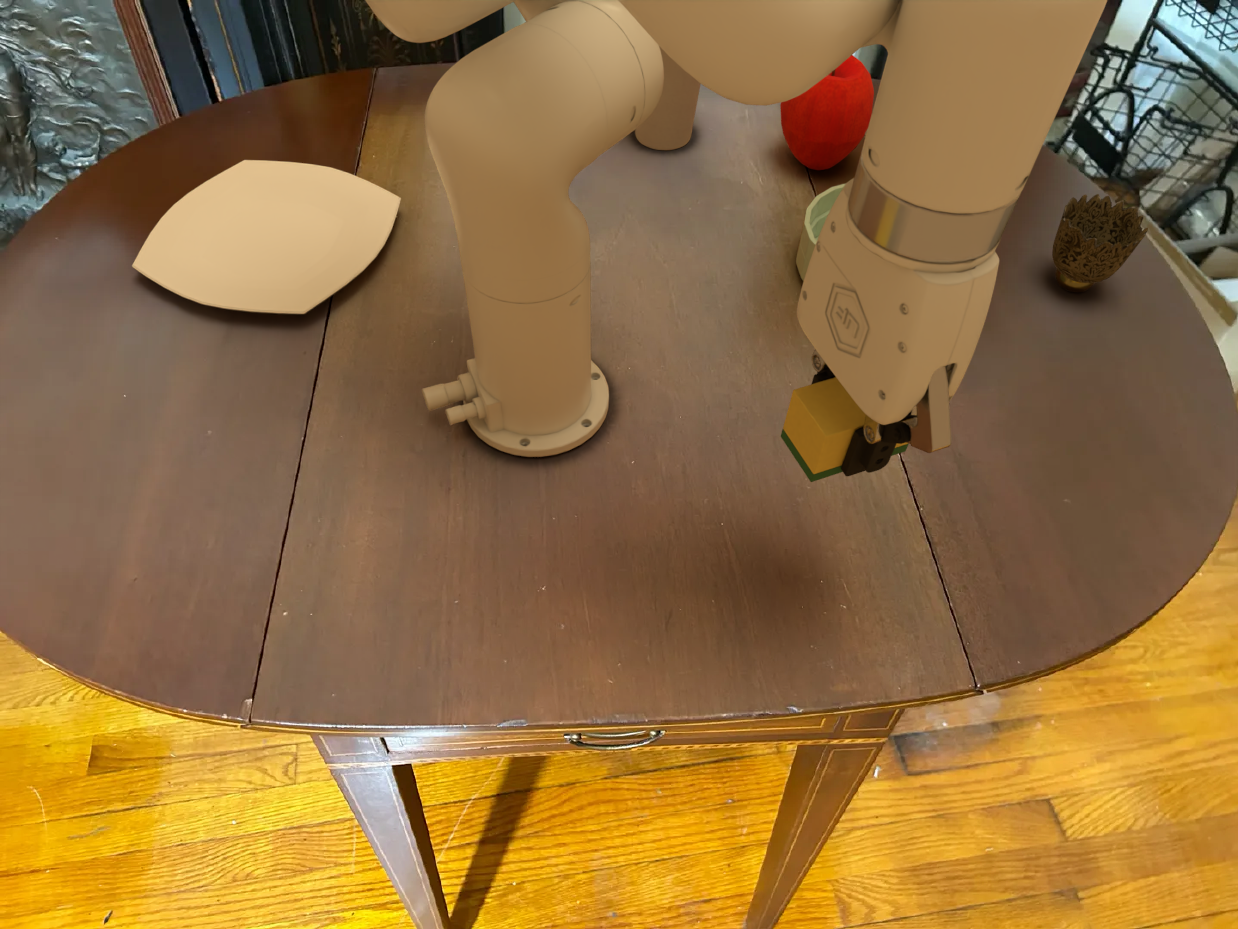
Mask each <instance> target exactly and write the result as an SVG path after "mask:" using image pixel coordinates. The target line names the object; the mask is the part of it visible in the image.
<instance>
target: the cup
mask: <svg viewBox="0 0 1238 929" xmlns="http://www.w3.org/2000/svg"><path fill="white" fill-rule="evenodd" d="M1124 203H1125V201H1124V199H1121V200H1119V201H1117V202H1116V203H1115V204H1114V205H1113V201H1112V200H1111V197H1110V195H1105V196H1104V197H1103V198H1101V196H1100V194H1099V193H1097V194H1094V195H1093V196H1092V197H1090V198H1089V199H1088V194H1083V195H1081V197H1080V198H1079V200H1077V199H1076V197H1074V196H1073V197H1071V199H1070V200H1069V201H1068V202H1067V203H1066V204H1065V205H1064V209H1063V213H1062V216H1061V219H1060V221H1059V224H1058V228H1057V231H1056V233H1055V238H1054V240H1053V244H1052V251H1051V254H1052V255H1051V257H1052V262H1053V265H1054V266H1055V268H1056V270H1055V273H1054V274H1055V282H1056V283H1057V284H1058V286H1059V287H1060V288H1062V289H1063V290H1066V291H1069V292H1070V293H1071V292H1072V293H1084V292H1086V291H1088V290H1090V289H1091V288H1092V287H1093V286H1094V285H1095V283H1099V282H1103V281H1105V280H1107V279H1109V278H1110V277H1112V276H1113V275H1115V274H1116V273H1117V272H1118V271H1119V270H1120V268H1121V267H1122V266H1123V265H1124V264H1125V263H1126V261H1127V260H1128V259H1129V258H1130V256H1132V254H1133V252H1134V251H1135V250H1136V248H1137V247H1138V246H1139V244H1140V243H1141V242H1142V240H1143V239H1144V238H1145V237H1146V234H1147V233H1148V231H1149V227H1144V228H1143V227H1142V226H1141V225H1142V222H1143V220H1144V215H1139V208H1138V207H1137V206H1130V207H1129V206H1128V207H1124V205H1125V204H1124Z"/></svg>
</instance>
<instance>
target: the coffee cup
mask: <svg viewBox="0 0 1238 929" xmlns="http://www.w3.org/2000/svg"><path fill="white" fill-rule="evenodd" d="M659 48H660V51H661V55H662V61H663V68H664V83H663V89H662V94H661V97H660V100H659V102H658V104H657V106H656V108H655V109H654V111H653V112H652V114H651V115H650V116H649V117H648V119H647V120H646V121H645V122H644V123H642V124H641V125H640V126H639V127H638V128H637V129H635V130H634V134H635V139H636V140H637V141H638V142H639V143H640V144H641V145H643V146H645V147H647V148H649V149H653V150H657V151H672V150H678V149H680V148H682V147H684V146H686V145H687V144H688V143H689V142H690V141H691V138H692V132H693V127H694V122H695V116H696V111H697V106H698V100H699V95H700V88H701V85H702V84H701V83H699V82H698V81H697V80H696V79H694V78H693V77H692V76H691V75H690V74H689V73H687V72H686V71H684V70H683V69H682V68H681V67H680V66H679V65H678V64H677V63H676V62H675V61H674V60H673V59H672V58H671V57H670V56H668V54H667V53H666V52H665V51H664V50H663V49H662V48H661V47H660V46H659Z"/></svg>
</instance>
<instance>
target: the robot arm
mask: <svg viewBox="0 0 1238 929" xmlns="http://www.w3.org/2000/svg"><path fill="white" fill-rule="evenodd" d="M364 1H365V2H366V4H367V5H368V7H369V8H370V10H371V11H372V12H373V13H374V15H375V16H376V17H377V19H378V20H379V21H380V22H381V23H382V25H383V26H384V27H385V28H386V29H387V30H389V31H390V32H391V33H392V34H393V35H394V36H396V37H398V38H400V39H401V40H402V41H406V42H409V43H416V44H423V43H429V42H435V41H438V40H441V39H443V38H447V37H448V36H450V35H451V36H452V35H453V34H456V33H457V32H459V31H461V30H463V29H465V28H468V27H469V26H471V25H473V24H475V23H477V22H478V21H481V20H482V19H484V18H486V17H488V16H490V15H492V14H493V13H496V12H498V11H499V10H501V9H503V8H505V7H507V6H508V5H511V4H512V3H514V6H516V8H517V10H518V11H519V13H520V14H521V16H522V18H523V19H524V21H525V22H523V23H520V24H518V25H517V26H514V27H512V28H511V29H509V30H507V31H505V32H504V33H502V34H500V35H498V36H497V37H495V38H493V39H492V40H490V41H487V42H486V43H484V44H482V45H480V46H479V47H477V48H475V49H474V50H472V51H471V52H469V53H468V54H465V55H464V56H463V57H462V58H460V59H459V60H458V61H456V62H455V63H454V64H453V65H452V66H451V67H450V68H449V69H448V70H447V71H445V73H444V74H443V75H441V77H440V79H439V80H438V81H437V82H436V83H435V85H434V87H433V89H432V90H431V92H430V94H429V97H428V99H427V102H426V105H425V111H424V132H425V137H426V141H427V146H428V147H429V152H430V153H431V156H432V159H433V162H434V164H435V167H436V170H437V172H438V176H439V177H440V180H441V183H442V186H443V188H444V192H445V194H446V196H447V197H446V198H447V200H448V204H449V207H450V210H451V214H452V215H451V216H452V219H453V225H454V228H455V233H456V240H457V245H458V251H459V258H460V265H461V271H462V276H463V277H462V278H463V285H464V290H465V297H466V304H467V310H468V311H467V312H468V319H469V325H470V332H471V340H472V347H473V353H474V357H473V358H470V359H467V360H466V366H467V372H465V373H461V374H458V375H457V380H454V381H450V382H446V383H438V384H435V385H431V386H428V387H427V386H426V387H425V388H421V392H422V397H423V400H424V404H425V405H426V408H427V411H428V412H431V411H434V410H436V409H441V408H444V407H447V406H450V404H454V403H457V402H461V401H463V404H462V405H461V404H458V405H455V406H453V407H452V406H451V407H449V408H445V409H444V410H445V414H446V415H445V416H446V418H447V420H448V423H449V425H450V426H452V425H455V424H459V423H462V422H465V421H467V423H468V425H469V427H470V429H471V430H472V431H473V432H474V433H475V435H476V436H477V437H478V438H479V439H480V440H482V441H483V442H484V443H485V444H486V445H488V446H490V447H492V448H494V449H496V450H498V451H500V452H504V453H506V454H510V455H514V456H519V457H520V456H521V457H527V458H533V457H534V458H536V457H537V458H539V457H540V458H542V457H549V456H556V455H559V454H562V453H566V452H568V451H570V450H572V449H575V448H577V447H578V446H581V445H583V444H584V443H585V442H586V441H588V440H590V438H593V436H594V435H595V434H596V433H597V432H598V431H599V429H601V426H602V425H603V423H604V422H605V420H606V418H607V414H608V411H609V406H610V405H609V404H610V391H609V390H610V389H609V384H608V382H607V379H606V376H605V375H604V373H603V372H602V370H601V368H599V366H598V365H597V364H596V363H595V362H594V361H593V360H592V272H591V271H592V265H591V264H592V262H591V237H590V236H591V235H590V230H589V226H588V223H587V220H586V218H585V216H584V214H583V212H582V211H581V210H580V209H579V207H578V206H577V205H576V204H575V203H573V201H572V199H571V198H570V195H569V189H570V186H571V184H572V182H573V181H574V179H575V177H576V176H578V175H579V173H581V172H582V171H583V170H584V169H585V168H587V167H588V166H590V165H591V164H592V163H594V162H595V160H597V158H598V157H600V156H601V155H603V154H604V153H606V152H607V151H608V150H610V149H611V148H613V147H614V146H615V145H616V144H618V143H619V142H621V141H622V140H623V139H624V138H626V137H627V136H628V135H630V134H631V133H633V132H635V129H637V128H638V127H639V126H640V125H641V124H642V123H644V122H645V121H646V120H647V119H648V117H649V116H650V115H651V114H652V112H653V111H654V109H655V108H656V106H657V104H658V102H659V100H660V97H661V94H662V89H663V83H664V68H663V61H662V55H661V51H660V48H659V46H660V47H661V48H662V49H663V50H664V51H665V52H666V53H667V54H668V56H670V57H671V58H672V59H673V60H674V61H675V62H676V63H677V64H678V65H679V66H680V67H681V68H682V69H683V70H684V71H686V72H687V73H689V74H690V75H691V76H692V77H693V78H694V79H696V80H697V81H698V82H699V83H701V84H700V85H702V86H703V87H705V88H707V89H708V90H710V91H712V92H713V93H715V94H716V95H718V96H720V97H721V98H724V99H727V100H729V101H733V102H736V103H739V104H743V105H746V106H770V105H776V104H781V102H785V101H788V100H790V99H792V98H795V97H797V96H799V95H801V94H803V93H804V92H806V91H807V90H809V89H810V88H811V87H813V86H814V85H815V84H817V83H818V82H819V81H821V80H822V79H823V78H825V77H826V76H827V75H829V74H830V73H831V72H832V71H834V70H835V69H836V68H837V67H838V66H840V65H841V64H842V63H843V62H844V61H845V60H847V59H848V58H849V57H850V56H851V55H854V54H855V53H857V51H858V50H860V49H862V48H865V47H871V46H874V45H879V46H880V45H881V46H882V47H884V48H885V50H886V52H887V56H886V61H885V63H884V67H883V71H882V75H881V78H880V83H879V86H878V90H877V94H876V97H875V101H874V103H873V107H872V115H871V119H870V122H869V126H868V129H867V131H866V133H865V135H864V137H863V140H864V141H863V144H862V148H861V152H860V156H859V159H858V162H857V166H856V171H855V174H854V177H853V178H851V179H850V180H848V181H847V182H845V183H846V185H845V186H844V188H843V189H842V191H841V192H840V194H839V195H838V197H837V199H836V201H835V202H834V204H833V206H832V208H831V210H830V212H829V214H828V216H827V218H826V220H825V223H824V225H823V227H822V230H821V232H820V235H819V237H818V240H817V242H816V245H815V248H814V251H813V253H812V256H811V259H810V262H809V265H808V269H807V272H806V275H805V278H804V282H803V281H802V286H801V289H800V293H799V295H798V302H797V308H796V318H797V321H798V324H799V326H800V329H801V330H802V332H803V334H804V335H805V336H806V338H807V339H808V341H809V342H810V344H811V345H812V347H813V348H814V350H813V353H812V354H811V358H810V359H811V366H812V367H813V369H814V371H815V372H816V374H813V378H812V380H811V384H815V383H818V382H821V381H825V380H828V379H831V378H835V377H836V378H837V379H838V380H839V382H840V383H841V384H842V386H843V387H844V388H845V390H846V391H847V392H848V393H849V395H850V396H851V397H852V399H853V400H854V401H855V402H856V404H857V405H858V406H859V407H860V409H861V410H862V411H863V412H864V413H865V414H866V416H865V422H864V427H862V428H859V429H857V430H856V431H855V432H854V434H853V436H852V439H851V442H850V444H849V447H848V450H847V453H846V455H845V458H844V461H843V464H842V465H841V466H842V467H841V470H842V472H841V473H842V474H843V475H844V476H845V477H851V476H854V475H857V474H861V473H863V472H866V473H874V472H878V471H881V469H884V468H885V467H886V466H887V465H888V464H889V462H890V460H891V458H892V456H891V455H892V453H893V451H894V449H895V446H896V444H897V443H898V444H903V443H909V445H910V447H912V448H914V449H918V450H920V451H922V452H924V453H927V454H931V453H934V452H938V451H941V450H943V449H947V448H949V447H950V446H951V445H952V427H951V409H950V401H952V398H954V396H955V394H956V393H957V391H958V389H959V387H960V386H961V384H962V381H963V379H964V377H965V375H966V373H967V371H968V368H969V366H970V363H971V361H972V359H973V356H974V354H975V352H976V348H977V346H978V343H979V341H980V338H981V334H982V332H983V330H984V329H983V328H984V325H985V322H986V319H987V316H988V312H989V309H990V305H991V302H992V299H993V298H992V297H993V294H994V290H995V286H996V281H997V276H998V272H999V265H1000V258H999V256H998V253H997V252H996V250H997V248H998V246H999V244H1000V242H1001V239H1002V236H1003V234H1004V232H1005V230H1006V227H1007V225H1008V223H1009V221H1010V219H1011V216H1012V214H1013V212H1014V210H1015V208H1016V205H1017V204H1018V201H1019V199H1020V197H1021V194H1022V192H1023V190H1024V188H1025V186H1026V184H1027V181H1028V179H1029V177H1030V175H1031V173H1032V170H1033V168H1034V166H1035V164H1036V162H1037V159H1038V157H1039V154H1040V153H1041V150H1042V148H1043V145H1044V143H1045V140H1046V139H1047V137H1048V134H1049V132H1050V129H1051V127H1052V125H1053V123H1054V122H1055V118H1056V116H1057V114H1058V112H1059V110H1060V108H1061V105H1062V103H1063V100H1064V98H1065V96H1066V94H1067V92H1068V90H1069V87H1070V85H1071V83H1072V81H1073V79H1074V77H1075V75H1076V71H1077V70H1078V67H1079V65H1080V63H1081V61H1082V59H1083V56H1084V54H1085V52H1086V49H1087V48H1088V46H1089V43H1090V41H1091V39H1092V37H1093V34H1094V32H1095V31H1096V30H1095V29H1096V27H1097V26H1098V23H1099V20H1100V18H1101V17H1102V15H1103V12H1104V10H1105V7H1106V5H1107V2H1108V0H364Z"/></svg>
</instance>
